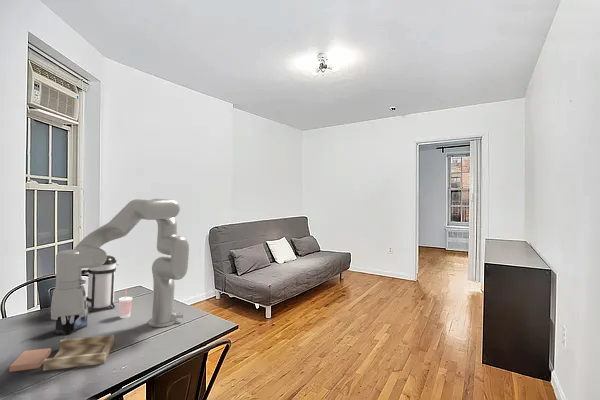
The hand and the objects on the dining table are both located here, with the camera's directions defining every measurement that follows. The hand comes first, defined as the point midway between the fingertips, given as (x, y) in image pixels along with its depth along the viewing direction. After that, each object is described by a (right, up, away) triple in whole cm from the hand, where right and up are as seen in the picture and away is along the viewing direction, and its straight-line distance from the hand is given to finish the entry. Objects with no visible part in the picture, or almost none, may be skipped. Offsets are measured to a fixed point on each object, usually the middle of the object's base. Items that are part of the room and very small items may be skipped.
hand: (68, 333), depth 116 cm
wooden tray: (+4, -10, +1) cm, 10 cm away
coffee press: (-22, -8, +50) cm, 55 cm away
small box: (-16, -9, +23) cm, 30 cm away
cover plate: (-10, -9, -5) cm, 15 cm away
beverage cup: (-2, -9, +41) cm, 42 cm away
